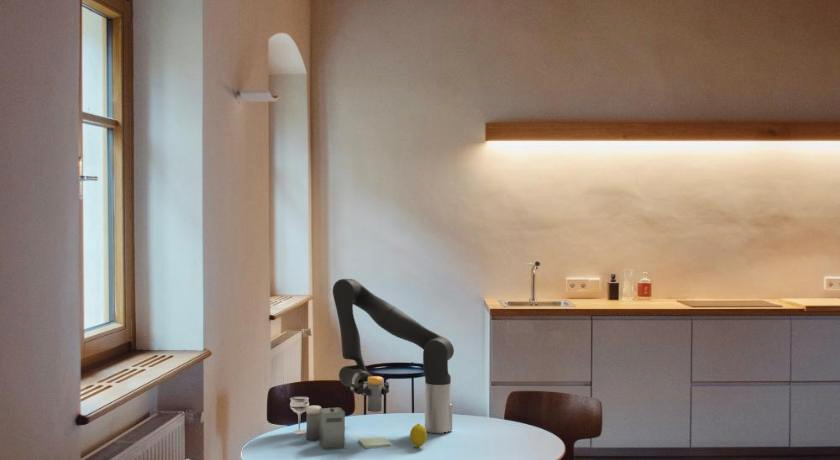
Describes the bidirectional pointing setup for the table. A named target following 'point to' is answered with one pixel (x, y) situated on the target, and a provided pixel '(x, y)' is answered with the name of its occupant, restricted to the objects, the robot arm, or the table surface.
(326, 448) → the unit
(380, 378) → the cylinder
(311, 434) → the cylinder
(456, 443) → the table surface
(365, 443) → the pad
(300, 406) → the wineglass
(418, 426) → the lemon
